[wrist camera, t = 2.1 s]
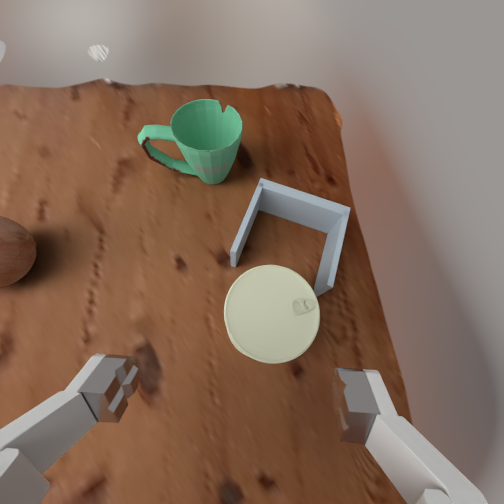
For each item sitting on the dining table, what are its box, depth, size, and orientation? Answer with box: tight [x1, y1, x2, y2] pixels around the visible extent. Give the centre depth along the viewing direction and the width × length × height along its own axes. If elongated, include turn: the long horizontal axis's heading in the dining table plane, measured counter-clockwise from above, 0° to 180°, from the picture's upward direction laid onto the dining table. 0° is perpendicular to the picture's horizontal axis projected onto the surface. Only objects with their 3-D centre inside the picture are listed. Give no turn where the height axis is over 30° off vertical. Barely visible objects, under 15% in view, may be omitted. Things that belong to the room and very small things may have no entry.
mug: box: [138, 99, 243, 184], centre depth 37 cm, size 15×10×10 cm
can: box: [224, 265, 320, 364], centre depth 28 cm, size 9×9×12 cm
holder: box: [230, 178, 350, 297], centre depth 35 cm, size 12×14×6 cm
